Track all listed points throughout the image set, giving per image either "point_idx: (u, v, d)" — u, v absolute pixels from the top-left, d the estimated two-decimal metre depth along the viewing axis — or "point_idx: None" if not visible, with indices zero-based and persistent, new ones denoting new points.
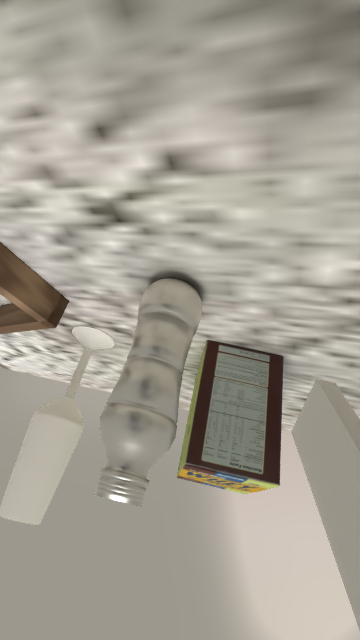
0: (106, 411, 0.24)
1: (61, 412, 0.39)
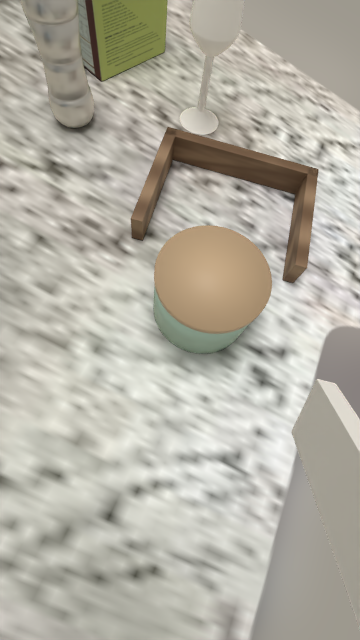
0: (48, 18, 0.35)
1: (194, 36, 0.41)
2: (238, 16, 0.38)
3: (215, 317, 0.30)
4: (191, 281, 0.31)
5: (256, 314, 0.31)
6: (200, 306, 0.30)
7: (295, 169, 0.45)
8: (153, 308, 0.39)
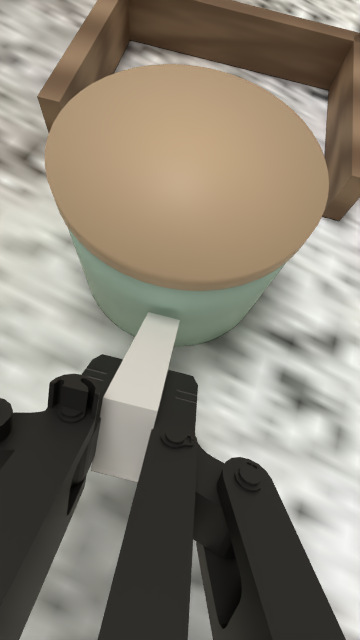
0: None
1: None
2: None
3: (196, 247, 0.12)
4: (137, 167, 0.13)
5: (299, 239, 0.12)
6: (158, 221, 0.12)
7: (333, 34, 0.27)
8: None
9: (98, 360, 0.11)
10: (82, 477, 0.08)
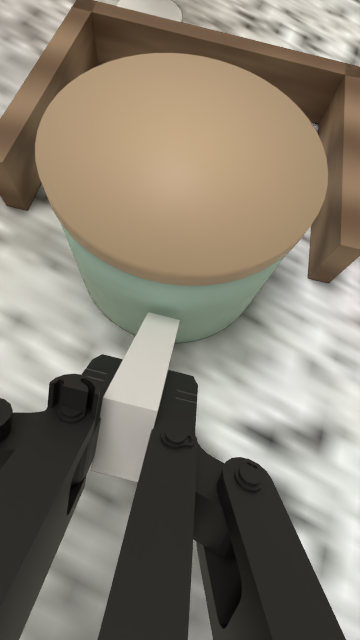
0: None
1: None
2: None
3: (196, 240, 0.11)
4: (131, 160, 0.12)
5: (300, 230, 0.12)
6: (155, 215, 0.12)
7: (322, 67, 0.24)
8: None
9: (98, 360, 0.11)
10: (82, 477, 0.08)
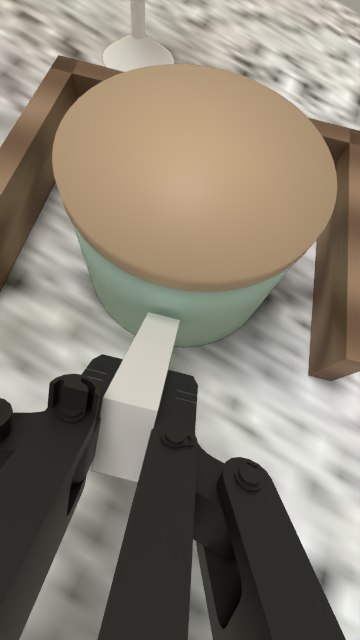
0: None
1: None
2: None
3: (201, 247, 0.12)
4: (144, 166, 0.13)
5: (306, 243, 0.12)
6: (163, 221, 0.12)
7: (324, 134, 0.22)
8: None
9: (98, 360, 0.11)
10: (82, 477, 0.08)
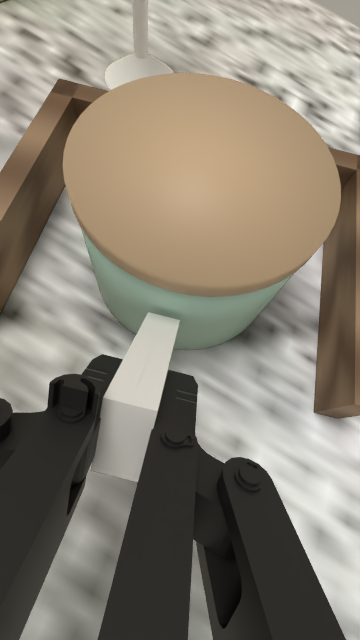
0: None
1: None
2: None
3: (205, 253, 0.12)
4: (152, 172, 0.13)
5: (308, 251, 0.12)
6: (169, 226, 0.12)
7: None
8: None
9: (97, 359, 0.11)
10: (82, 477, 0.08)
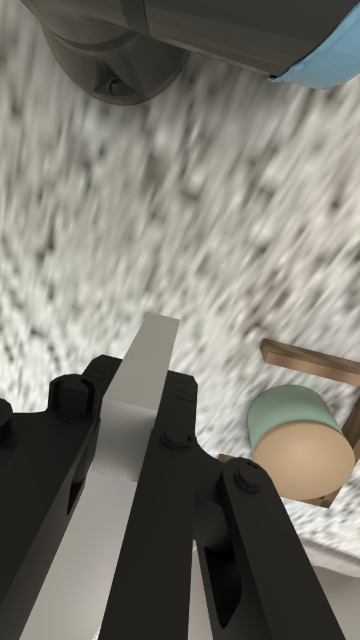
0: None
1: None
2: None
3: (264, 460, 0.39)
4: (298, 449, 0.38)
5: None
6: (275, 452, 0.39)
7: None
8: (291, 385, 0.45)
9: (98, 360, 0.11)
10: (82, 477, 0.08)
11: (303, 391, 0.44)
